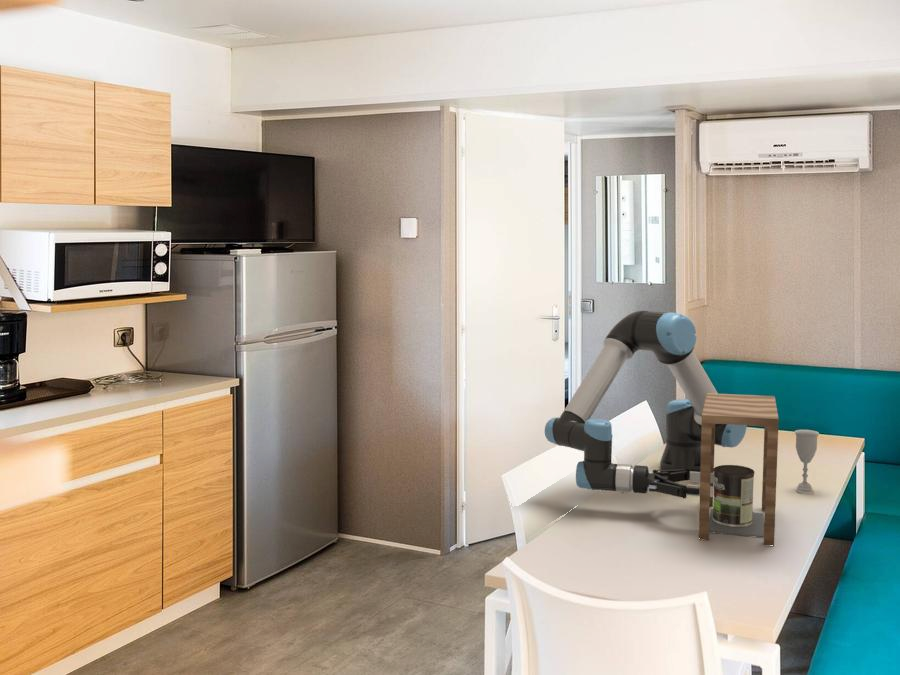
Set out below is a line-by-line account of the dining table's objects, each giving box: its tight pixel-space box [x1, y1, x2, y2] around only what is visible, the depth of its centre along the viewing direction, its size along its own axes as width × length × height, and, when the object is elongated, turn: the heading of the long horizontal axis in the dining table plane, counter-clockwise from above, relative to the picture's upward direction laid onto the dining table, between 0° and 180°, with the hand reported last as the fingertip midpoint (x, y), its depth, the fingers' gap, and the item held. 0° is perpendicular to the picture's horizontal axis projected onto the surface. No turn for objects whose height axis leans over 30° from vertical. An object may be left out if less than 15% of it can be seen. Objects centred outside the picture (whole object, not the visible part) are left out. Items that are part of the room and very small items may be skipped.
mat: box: [709, 508, 765, 538], centre depth 242 cm, size 20×14×1 cm
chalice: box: [794, 429, 820, 495], centre depth 270 cm, size 7×7×18 cm
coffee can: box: [712, 464, 755, 527], centre depth 241 cm, size 10×10×14 cm
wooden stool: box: [698, 393, 780, 547], centre depth 240 cm, size 32×18×32 cm, turn 162°
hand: (713, 484), depth 242 cm, fingers open, 13 cm apart
